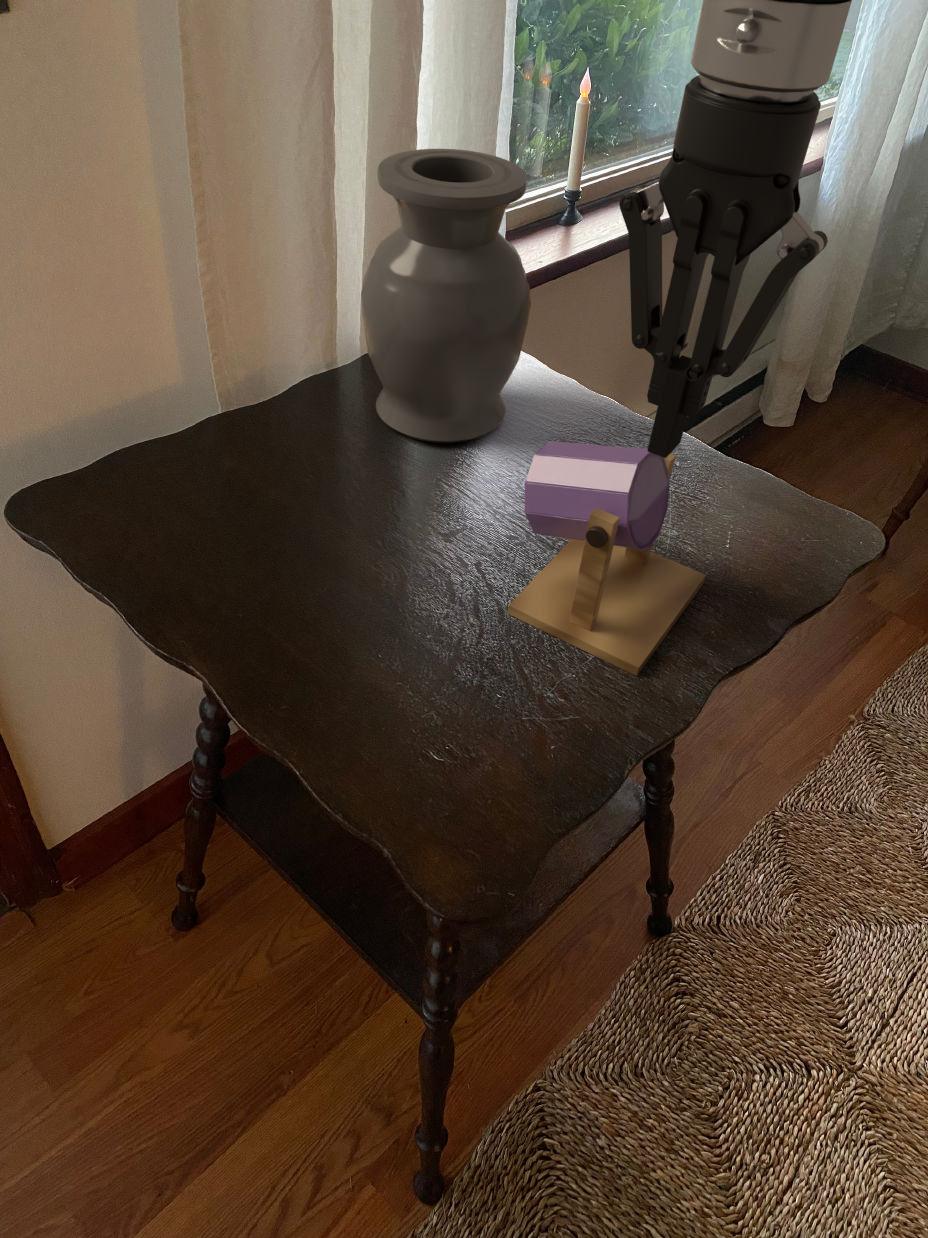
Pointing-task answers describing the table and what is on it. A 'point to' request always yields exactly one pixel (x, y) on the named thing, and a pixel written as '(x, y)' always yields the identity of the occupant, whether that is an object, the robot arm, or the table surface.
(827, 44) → the robot arm
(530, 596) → the swivel stand
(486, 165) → the vase
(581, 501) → the cup
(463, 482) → the table surface
